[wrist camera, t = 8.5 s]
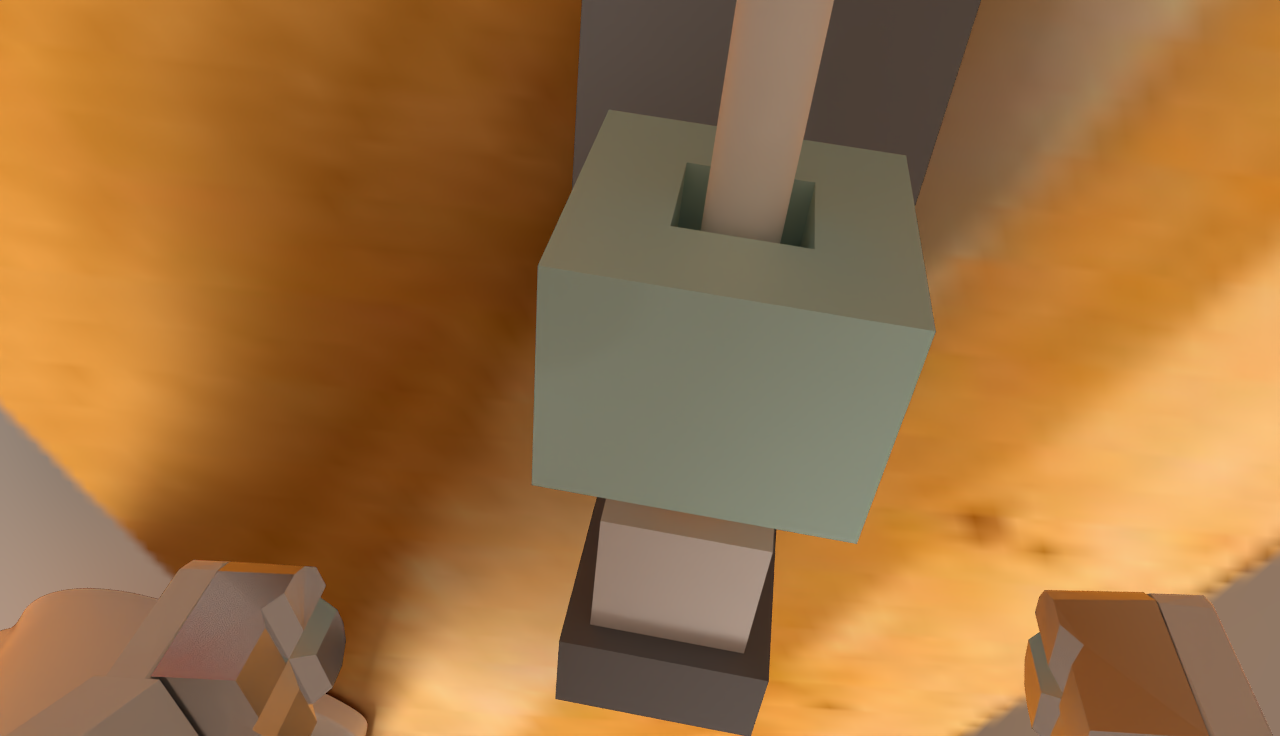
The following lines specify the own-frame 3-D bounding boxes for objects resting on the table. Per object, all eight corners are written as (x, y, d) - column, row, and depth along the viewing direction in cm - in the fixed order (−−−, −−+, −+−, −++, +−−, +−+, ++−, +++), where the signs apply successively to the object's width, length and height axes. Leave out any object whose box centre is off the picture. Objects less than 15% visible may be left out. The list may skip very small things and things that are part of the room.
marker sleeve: (848, 346, 18) (856, 543, 14) (594, 303, 18) (531, 485, 14) (906, 155, 15) (935, 331, 11) (609, 109, 15) (537, 265, 12)
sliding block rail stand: (836, 414, 27) (844, 768, 19) (571, 369, 28) (460, 693, 19) (1184, -710, 13) (1843, -1354, 5) (640, -761, 14) (346, -1427, 5)
